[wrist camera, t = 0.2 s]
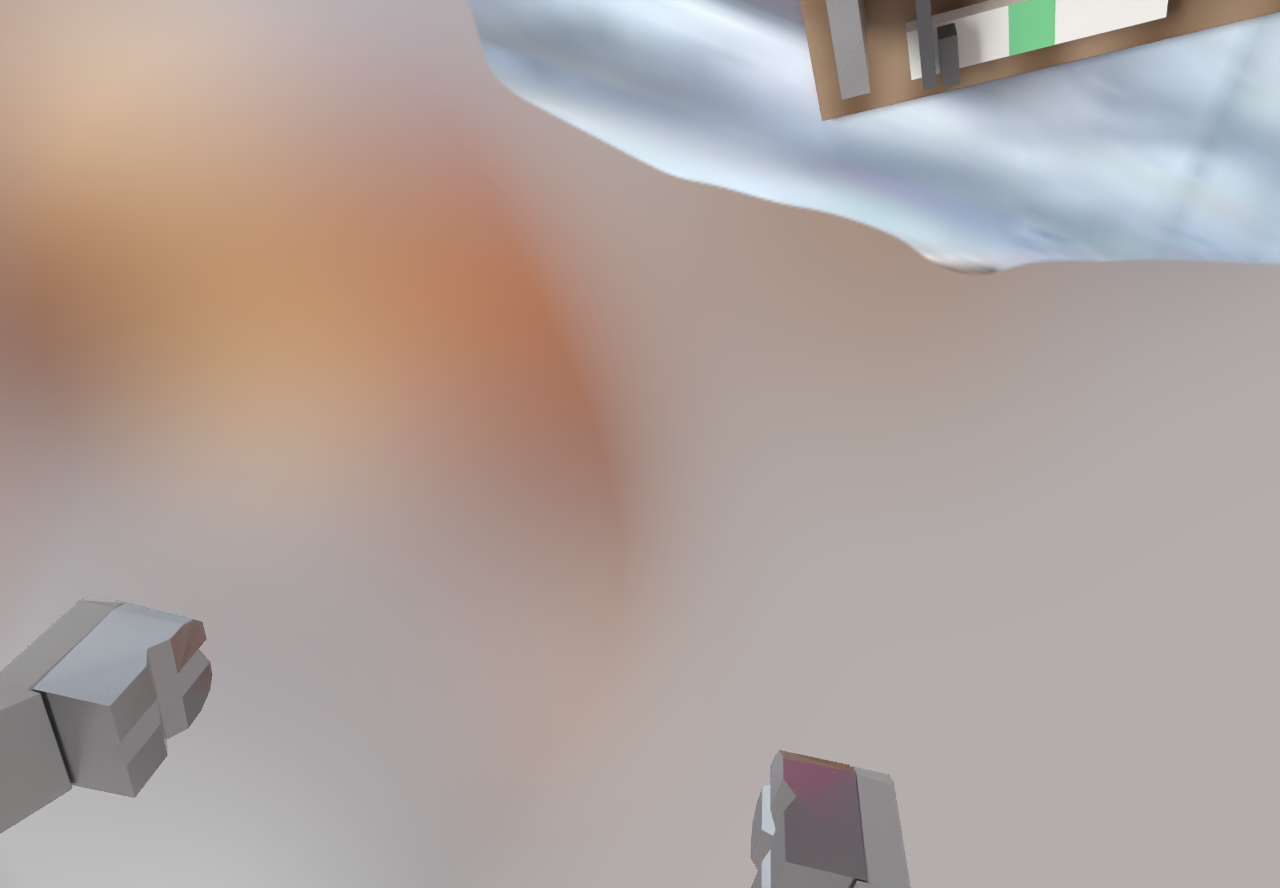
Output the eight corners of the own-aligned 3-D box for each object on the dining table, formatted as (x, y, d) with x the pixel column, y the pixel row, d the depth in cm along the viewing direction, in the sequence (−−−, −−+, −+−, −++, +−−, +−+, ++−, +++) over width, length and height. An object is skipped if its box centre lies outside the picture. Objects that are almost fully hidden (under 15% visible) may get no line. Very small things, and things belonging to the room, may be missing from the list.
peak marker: (940, 75, 50) (942, 88, 49) (936, 27, 48) (939, 39, 47) (957, 71, 50) (960, 84, 49) (954, 22, 48) (957, 34, 47)
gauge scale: (910, 70, 52) (911, 80, 51) (905, 22, 50) (906, 32, 49) (1159, 7, 47) (1166, 17, 46) (1165, -48, 45) (1172, -39, 44)
